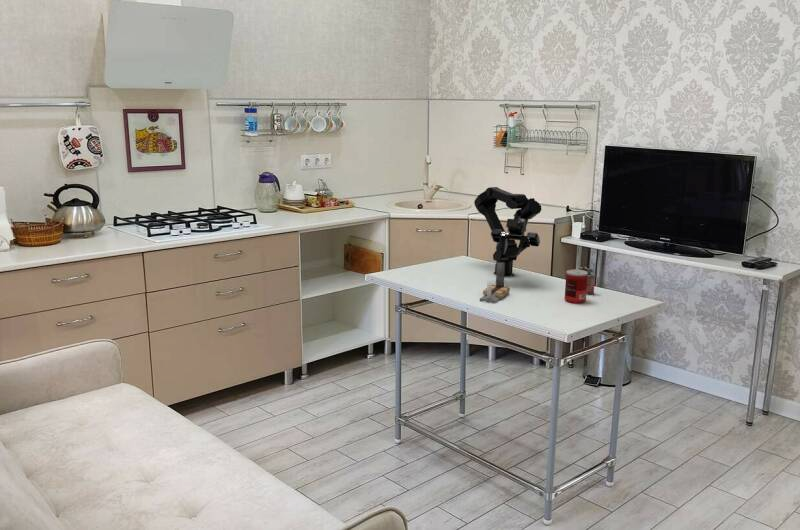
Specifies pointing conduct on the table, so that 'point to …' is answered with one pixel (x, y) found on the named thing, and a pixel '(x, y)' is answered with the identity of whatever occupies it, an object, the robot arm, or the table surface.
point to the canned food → (576, 286)
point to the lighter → (589, 280)
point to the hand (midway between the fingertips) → (509, 255)
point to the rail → (491, 295)
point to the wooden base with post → (499, 282)
